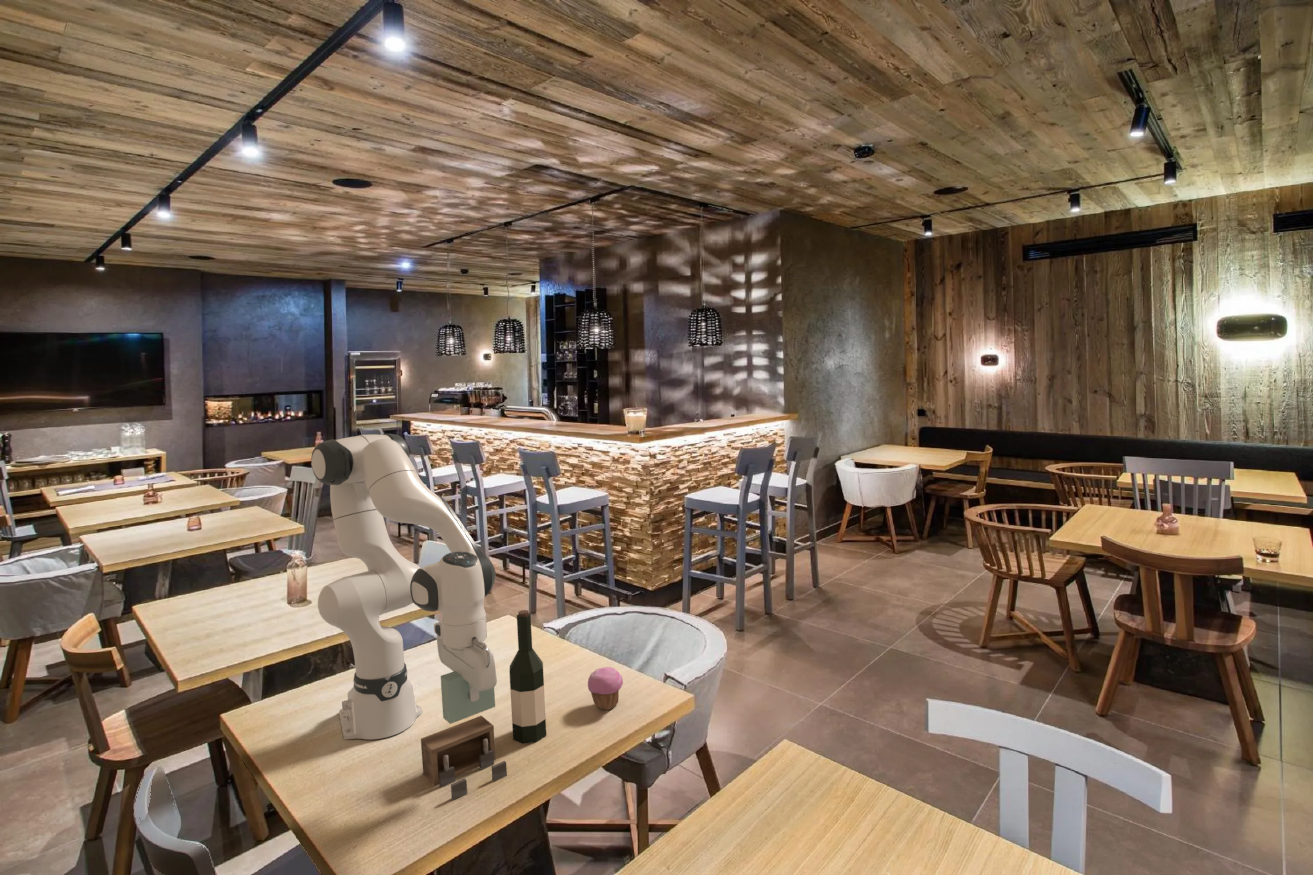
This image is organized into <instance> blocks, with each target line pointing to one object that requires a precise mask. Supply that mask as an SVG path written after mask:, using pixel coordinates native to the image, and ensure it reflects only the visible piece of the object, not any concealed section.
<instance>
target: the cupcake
mask: <svg viewBox="0 0 1313 875" xmlns="http://www.w3.org/2000/svg"><path fill="white" fill-rule="evenodd" d="M587 679H588V680H587V689H588V691H589V692H590V693H591V698H592V701H593V703H594V705H595V706H596V707H597V709H603V710H606V711H609V710H612V709H613V708H614V707H615V706H617V704H618V703H619V700H620V699H619V697H620V696H619V691H620V689H621V688H622V687H623V684H624V679H623V676H622V674H621V673H620V672H619V671H618V670H617V669H616V668H615V667H612V666H603V667H600V668H597V669H595V670H594V671H593V672H590V675H589V677H588V678H587Z"/></svg>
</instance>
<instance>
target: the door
mask: <svg viewBox="0 0 1313 875" xmlns="http://www.w3.org/2000/svg"><path fill="white" fill-rule="evenodd" d="M440 687H441V688H440V689H441V704H442V718H443V719H444V720H445V721H446V722H447V723H448V724H450V725H451V724H454V723H456V722H459V721H462V720H464V719H467V718H469V717H473V716H475V715H477V714H480V713H483V712H485V711H488V710H491V709H494V708H496V698H495V687H493V688H491V689H488V690H485V691H479V699H478V700H476V701H474V702H472V701H470V700H469V699H468V691H470V686H469V683H468V682H467V681H466V680H464V679H463V677H462V676H461V675H460V674H459V673H457V672H456V671H451V672H448V673H445V674H441V675H440Z"/></svg>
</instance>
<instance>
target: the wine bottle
mask: <svg viewBox="0 0 1313 875" xmlns="http://www.w3.org/2000/svg"><path fill="white" fill-rule="evenodd" d="M517 612H518V614H516V626H517V627H516V628H517V645H518V646H517V647H518V650H517V651H516V653H515V656H514V658H513V659H512V661H511V663H510V665H509V671H508V672H509V687H510V688H509V690H510V691H509V692H510V706H511V708H510V709H511V725H512V740H513V741H514V742H517V743H520V744H522V745H525V744H532V743H533V744H534V743H538V742H540V740H542V739H544V738H545V737H547V721H546V720H547V718H546V703H545V702H546V701H545V697H546V696H545V680H544V662H543V660H542V659H541V658H540V655H538V653H537V652H536V651H535V650H534V648H533V637H532V636H533V635H532V620H531V619H532V616H531V613H529V612H530V611H529V610H527V609H524V610H523V609H522V610H519V611H517Z"/></svg>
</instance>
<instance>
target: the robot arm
mask: <svg viewBox="0 0 1313 875" xmlns="http://www.w3.org/2000/svg"><path fill="white" fill-rule="evenodd" d="M310 463H311V470H312V473H313V474H314V476H315V479H317V481H319V482H320V483H321V484H324V485H329V486H330V490H329V499H330V509H331V515H332V521H333V525H334V531H335V535H336V539H337V543H338V548H339V550H340V551H341V552H342V553H343V554H344V555H346V556H348V557H351V558H354V559H359V560H360V561H362V562H363V563H364V564H365V566H366V567H367V568H366V569H367V571H364V572H359V573H356V574H351V575H348V576H344V577H342V578H339V579H336V580H335V581H332V582H331V583H328V584H327V585H324V586H323V587H322V589H321V591H320V593H319V594H318V598H317V609H318V613H319V615H320V617H321V618H322V620H324V621H325V622H326V623H328V625H330V626H333V627H336V628H338V629H340V630H341V631H342V632H343V633H344V634H345V635H346V636H347V638H348V639H349V640H348V641H350V644H351V647H352V652H353V658H354V659H353V660H354V667H355V668H354V669H355V673H354V676H353V680H352V682H353V687H352V688H350V689H349V690H348V692H347V699H346V700H342V701H341V707H342V708H341V709H339V712H338V717H339V721H340V726H341V730H342V731H341V732H342V736H343V740H354V739H355V740H356V739H360V740H379V739H384V738H385V739H386V738H389V737H392V736H395V735H398V734H400V733H402V732H404V731H406V730H407V729H409V728H410V727H411V726H412V725H413V724H414V722H415V721H416V718H418V717H419V716H420V715H421V714H423V707H422V706H420V705H418V704H417V703H416V702H417V701H416V694H415V687H414V683H413V682H411V681H410V680H408V668H407V663H405V656H404V642H403V641H404V639H403V637H402V634H401V633H400V632H399V631H398V630H397V629H395V628H393V627H390V626H386V625H381V622H380V616H382V615H384V614H387V613H390V612H393V611H397V610H400V609H403V608H406V607H408V606H410V605H412V604H414V605H415V606H416V607H418V608H420V609H421V610H423V611H427V612H430V613H431V612H433V613H434V612H440V613H441V621H439V622H435V623H434V624H433V631H434V633H435V634H436V644H437V646H436V647H437V653H438V657H439V660H440V662H441V663H442V664H443V665H444V666H446V667H447V668H448V669H450V670H451V672H454V671H456V672H457V673H459V674H460V675H461V676H462V677H463V679H464V680H466V681H467V682H468V683H469V686H470V691H468V699H469V700H470V701H472V702H474V701H476V700H478V699H479V691H485V690H488V689H491V688H493V687H494V688H495V687H496V686H497V682H498V678H497V677H498V676H497V670H496V669H497V668H496V662H495V657H494V653H493V651H492V650H491V649H490V648H489V647H488V646H487V644H486V643H485V642H484V641H486V639H487V638H488V629H487V613H486V610H485V607H484V601H485V597H487V596H488V595H489V594H490V592H491V590H492V589H493V587H494V585H495V580H496V579H497V578H496V574H497V573H496V569H495V565H494V564H493V562H492V560H491V559H490V558H489V557H488V556H487V554H485V553H484V552H483V551H482V550H481V548H479V546H478V545H477V543H476V542H475V540H474V539H473V538H472V536H471V534H470V533H469V532H468V530H467V529H466V527H465V526H464V524H463V523H462V521H461V519H459V517H458V516H457V514H456V513H455V511H454V510H453V508H452V507H451V506H450V504H449V503H448V502H447V500H446V499H445V498H443V497H442V496H440V495H438V494H436V493H435V492H433V491H432V490H431V489H430V488H428V487H427V486H426V485H425V483H424V482H423V481H422V479H421V478H420V476H419V474H418V472H417V470H416V468H415V466H414V464H413V462H412V461H411V458H410V451H409V447H408V445H407V442H406V441H405V440H404V438H403V437H402V436H400V435H398V434H393V433H383V434H375V433H374V434H359V435H356V436H349V437H344V438H338V439H334V438H333V439H332V438H331V439H329V440H325V441H322V442H320V443H317V444H316V446H314V448H313V450H312V452H311V458H310ZM385 519H388V520H389V521H392V522H396V523H401V524H410V525H411V524H412V525H418V526H423V527H426V528H429V529H431V530H433V531H434V532H436V533H437V534H438V535H439V536H440V538H441V539H442V541H443V542H444V544H445V545H446V547H447V548H448V550H449V553H447V554H446V553H445V555H443V556H442V557H441V558H440V560H439V561H437V562H434V563H431V564H428V565H425V566H422V567H420V566H419V565H418V564H417V563H415V562H413V561H410V560H409V559H406V558H405V557H404V556H403V555H402V554H401V553H400V552H399V551H398V550H397V548H396V547H395V546H394V545H393V542H392V541H391V539H390V536H389V533H388V530H387V525H386V522H385Z"/></svg>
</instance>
